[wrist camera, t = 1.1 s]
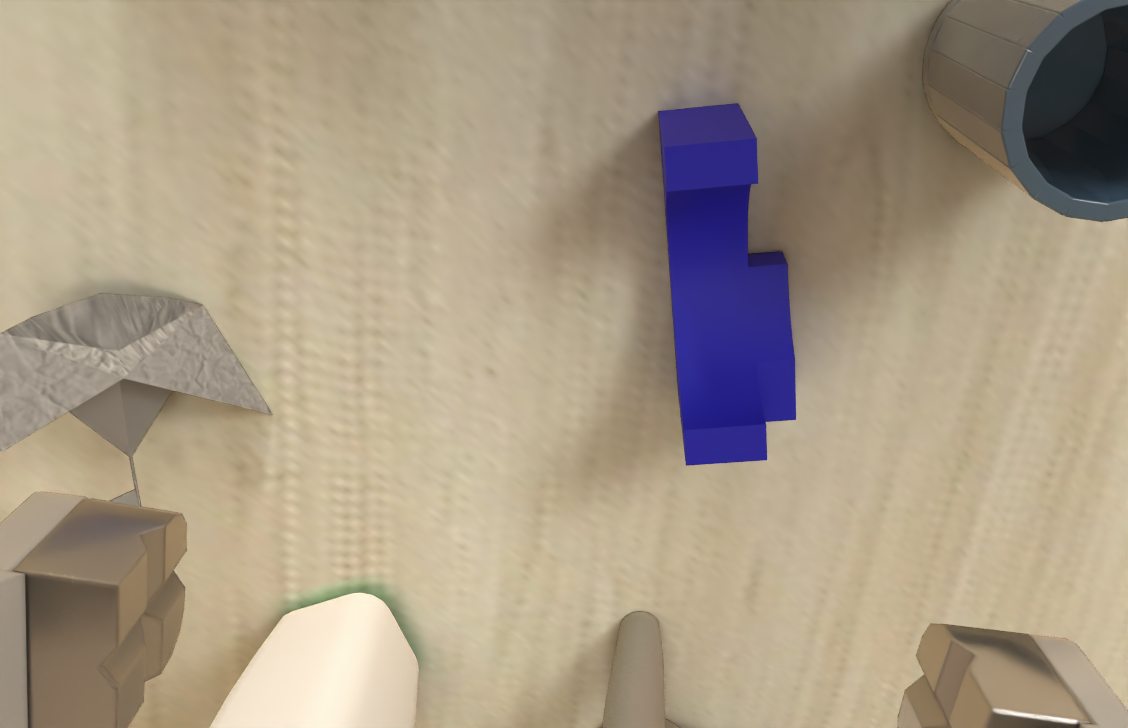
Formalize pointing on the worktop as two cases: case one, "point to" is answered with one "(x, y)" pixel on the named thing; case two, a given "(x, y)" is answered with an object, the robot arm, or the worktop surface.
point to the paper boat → (114, 368)
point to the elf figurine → (637, 677)
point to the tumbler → (1038, 96)
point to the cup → (328, 671)
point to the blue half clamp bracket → (723, 290)
